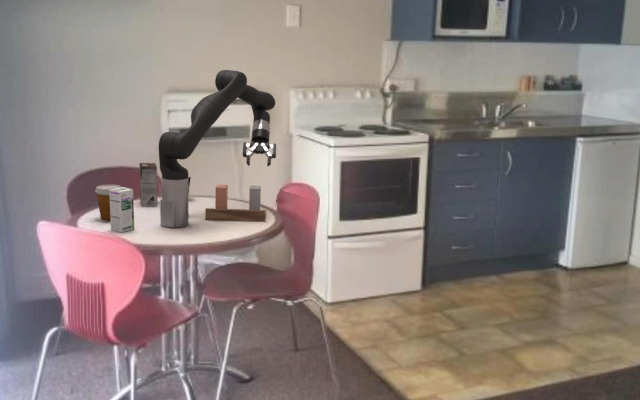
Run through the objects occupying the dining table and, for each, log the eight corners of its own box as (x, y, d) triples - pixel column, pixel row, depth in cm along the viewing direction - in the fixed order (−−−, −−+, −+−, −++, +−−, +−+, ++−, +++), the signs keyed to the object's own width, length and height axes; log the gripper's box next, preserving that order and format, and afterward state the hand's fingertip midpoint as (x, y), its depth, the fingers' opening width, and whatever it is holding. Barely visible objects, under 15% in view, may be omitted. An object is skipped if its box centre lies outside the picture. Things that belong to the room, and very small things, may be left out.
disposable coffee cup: (126, 216, 251) (126, 184, 248) (118, 222, 242) (117, 190, 239) (101, 215, 251) (100, 183, 248) (92, 221, 242) (91, 189, 239)
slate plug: (250, 210, 266) (250, 185, 264) (260, 210, 266) (260, 185, 264) (249, 213, 260) (249, 188, 258) (259, 214, 261) (259, 189, 258)
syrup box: (121, 232, 229) (120, 191, 226) (110, 229, 232) (108, 188, 229) (134, 229, 234) (133, 188, 230) (123, 226, 237) (122, 186, 234)
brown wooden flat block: (209, 212, 262) (209, 202, 261) (266, 213, 263) (266, 204, 262) (205, 219, 250) (205, 209, 249) (264, 221, 251) (264, 211, 250)
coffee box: (139, 201, 274) (139, 162, 271) (156, 201, 276) (155, 162, 273) (141, 207, 266) (140, 166, 262) (157, 206, 268) (157, 166, 264)
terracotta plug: (217, 209, 266) (217, 184, 264) (227, 209, 266) (227, 184, 264) (215, 212, 260) (215, 187, 258) (225, 213, 260) (226, 187, 258)
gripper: (243, 127, 281) (240, 159, 273) (277, 128, 282) (275, 160, 273) (244, 137, 288) (241, 169, 279) (277, 139, 288) (276, 170, 279)
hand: (258, 164), depth 276 cm, fingers open, 7 cm apart
